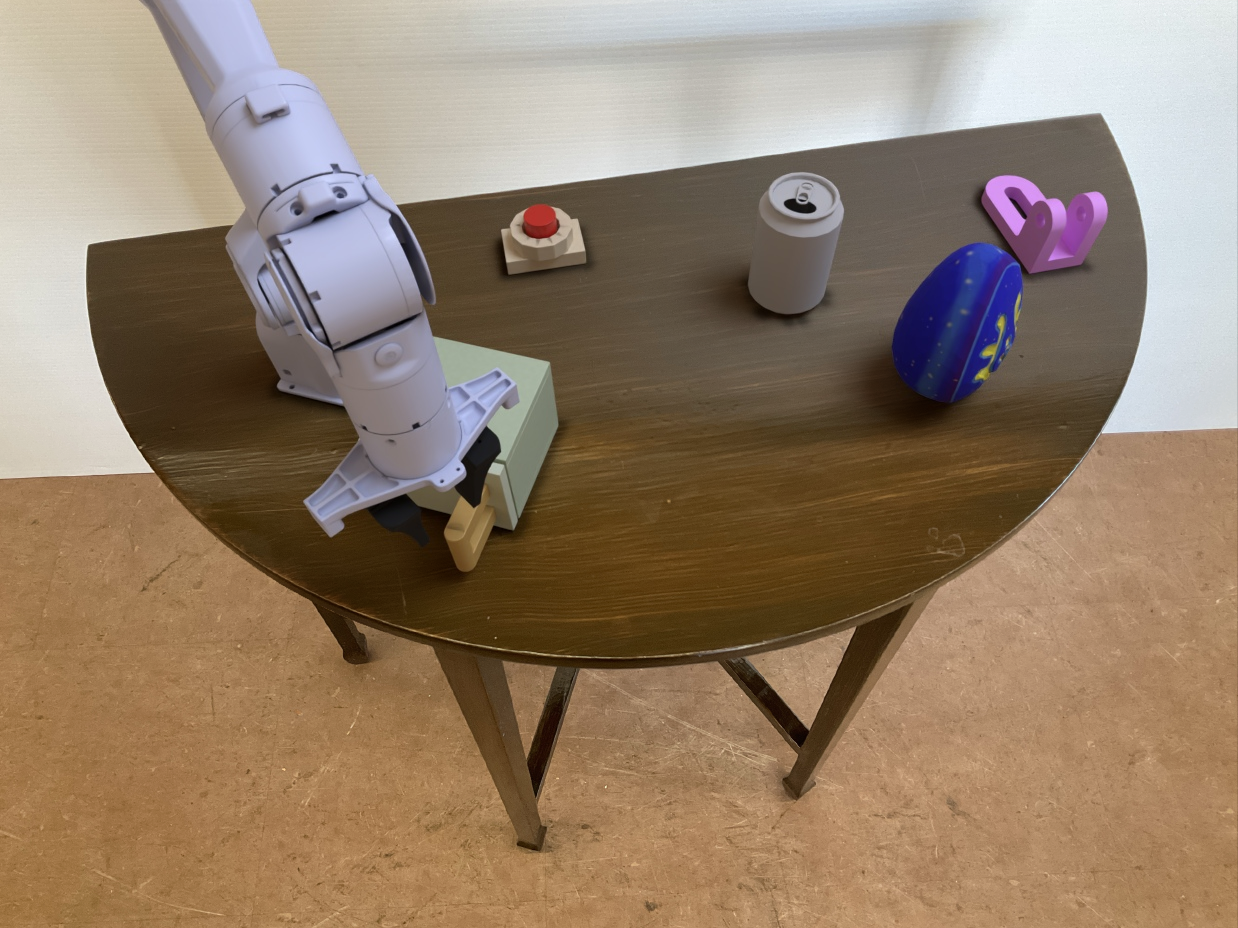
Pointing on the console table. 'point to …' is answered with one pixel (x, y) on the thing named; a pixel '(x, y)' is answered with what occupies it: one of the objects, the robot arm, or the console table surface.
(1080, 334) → the console table surface
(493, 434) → the robot arm
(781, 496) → the console table surface
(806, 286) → the can
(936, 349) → the ornament
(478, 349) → the cupboard
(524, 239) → the button box
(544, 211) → the button
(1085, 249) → the bracket
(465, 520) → the door
